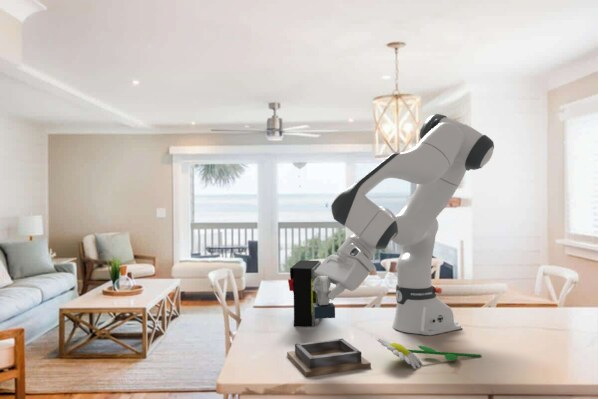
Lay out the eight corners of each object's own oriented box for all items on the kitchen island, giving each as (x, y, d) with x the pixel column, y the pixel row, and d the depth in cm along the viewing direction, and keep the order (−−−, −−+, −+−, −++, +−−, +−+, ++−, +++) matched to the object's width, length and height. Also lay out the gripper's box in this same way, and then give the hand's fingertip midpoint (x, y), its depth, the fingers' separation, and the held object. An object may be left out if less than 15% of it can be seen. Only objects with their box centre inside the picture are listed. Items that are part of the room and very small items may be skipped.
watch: (331, 312, 137) (330, 273, 137) (336, 319, 129) (335, 278, 129) (311, 313, 136) (310, 273, 136) (315, 320, 128) (314, 279, 128)
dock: (345, 348, 143) (345, 336, 143) (370, 367, 128) (370, 353, 128) (287, 356, 137) (286, 343, 137) (306, 376, 122) (305, 362, 122)
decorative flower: (467, 357, 141) (369, 350, 136) (470, 340, 141) (371, 333, 136) (491, 376, 129) (384, 369, 124) (494, 358, 129) (387, 351, 123)
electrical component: (318, 327, 165) (317, 268, 164) (288, 326, 167) (287, 268, 166) (325, 314, 182) (325, 260, 181) (298, 313, 184) (298, 260, 183)
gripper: (329, 245, 145) (299, 280, 141) (363, 252, 126) (329, 294, 122) (343, 258, 146) (314, 294, 143) (378, 268, 127) (346, 310, 124)
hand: (321, 294), depth 132 cm, fingers closed on watch, 8 cm apart
